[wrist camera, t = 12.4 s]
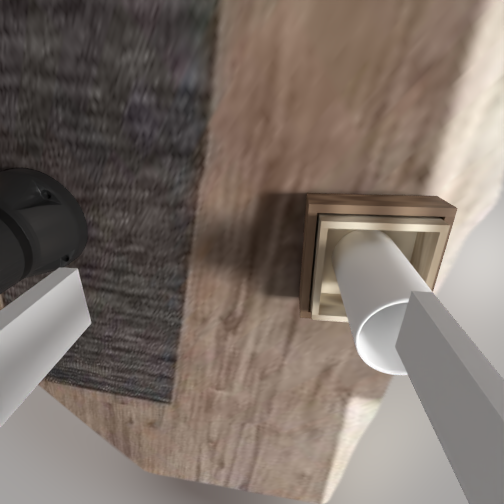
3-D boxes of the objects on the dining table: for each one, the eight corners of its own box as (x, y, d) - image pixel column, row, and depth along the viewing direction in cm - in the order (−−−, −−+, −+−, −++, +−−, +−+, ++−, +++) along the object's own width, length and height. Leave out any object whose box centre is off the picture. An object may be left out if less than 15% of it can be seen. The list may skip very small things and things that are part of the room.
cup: (349, 293, 43) (380, 386, 29) (320, 248, 41) (338, 325, 26) (406, 266, 40) (472, 354, 26) (379, 216, 38) (435, 283, 24)
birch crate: (308, 294, 45) (311, 319, 39) (316, 205, 39) (321, 221, 34) (404, 299, 43) (420, 326, 38) (427, 208, 38) (450, 225, 32)
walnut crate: (298, 297, 46) (300, 317, 42) (306, 193, 39) (309, 204, 35) (409, 303, 45) (422, 325, 40) (437, 196, 38) (457, 208, 33)
